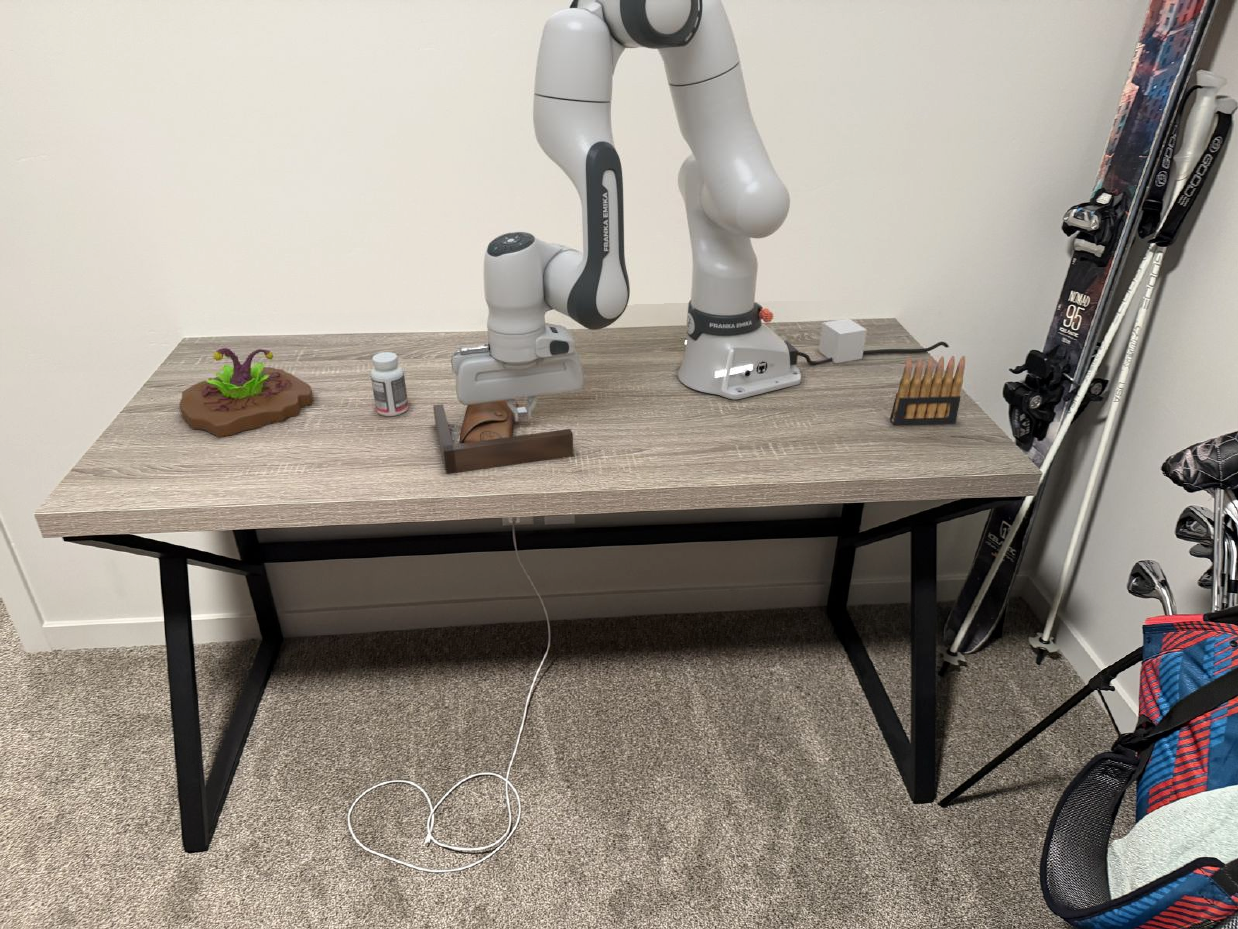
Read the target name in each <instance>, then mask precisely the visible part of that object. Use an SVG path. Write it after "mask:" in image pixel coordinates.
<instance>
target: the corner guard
mask: <svg viewBox="0 0 1238 929" xmlns="http://www.w3.org/2000/svg"><path fill="white" fill-rule="evenodd" d="M432 407H433V416H434V417H433V418H434V425H435V426H434V427H435V430H436V434H437V439H438V443H439V449H440V452H441V457H442V462H443V465H444V470H445V474H446V475H449V474H457V473H462V472H470V471H476V470H483V469H491V468H499V467H505V466H513V465H520V464H526V463H527V464H528V463H534V462H540V461H546V460H555V459H562V458H569V457H573V456H574V433H573V431H572V429H571V428H566V429H560V430H559V429H558V430H551V431H544V432H537V433H529V434H521V435H513V436H511V437H506V438H499V439H491V440H484V441H476V442H469V443H461V444H459V443H455V444H454V442H453V439H452V438H453V437H452V435H451V430H450V426H449V422H448V418H447V414H446V411H445V407H444V404H435V405H434V404H433V406H432Z"/></svg>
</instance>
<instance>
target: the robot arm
mask: <svg viewBox="0 0 1238 929" xmlns="http://www.w3.org/2000/svg"><path fill="white" fill-rule="evenodd" d="M727 14H728V13H727V11H726V9H725V7H724V5H723V2H722V0H572V2H571V3H570V5H569V7H568V8H564V9H562V10H561V9H560V10H559V11H556V12H554V13H553V14H551V15H550V16H549V17H548V18H547V20H546V21H545V23H544V26H543V30H542V34H541V37H540V43H539V48H538V53H537V58H536V66H535V67H536V68H535V72H534V73H535V75H534V85H533V102H532V122H533V129H534V130H533V131H534V135H535V139H536V142H537V144H538V145H539V147H540V149H541V150H542V152H543V153H544V154H545V155H546V156H547V158H548V159H550V160H551V161H552V162H553V163H554V164H555V165H556V166H557V167H559V169H561V170H562V172H563V173H564V174H565V175H566V176H567V178H568V179H569V180H570V182H571V183H572V184H573V186H574V187H575V188H574V189H576V192H577V194H578V197H579V199H580V205H581V222H582V223H581V225H582V252H581V251H579V250H577V249H575V248H573V247H570V246H566V245H564V244H560V243H551V242H547V241H544V240H541V239H539V238H537V237H535V235H533V234H532V233H529V232H526V231H524V232H523V231H515V232H514V231H513V232H507V233H503V234H500V235H498V236H497V237H495V238H494V239H493V240H491V241H490V242H489V243H488V244H487V247H486V249H485V253H484V257H483V258H484V259H483V289H484V290H483V291H484V292H483V293H484V299H485V300H484V301H485V302H486V305H487V309H488V316H487V319H486V326H487V327H486V328H487V340H488V343H485V344H478V345H474V346H473V345H472V346H462V347H460V348H459V350H456V351H455V352H453V353H452V355H451V358H450V363H451V364H450V365H451V370H452V372H453V373H454V374H455V393H456V397H457V400H458V402H459V403H460V404H461V405H463V406H467V405H473V404H480V403H488V402H495V401H503V400H506V403H507V405H508V407H509V408H510V409H511V410H512V412H513V417H514V422H515V423H517V422H524V421H531V420H532V411H533V410H534V408H535V406H536V405H537V402H538V397H540V396H541V397H542V396H548V395H555V394H563V393H570V392H578V391H580V390H581V388H582V387H583V386H584V371H583V366H582V360H581V358H580V356H579V354H578V352H577V351H576V348H577V345H576V344H577V343H576V341H575V338H574V336H573V334H572V333H571V332H570V331H569V329H568V328H567V327H566V326H563V325H560V324H556V323H555V324H554V323H550V322H546V318H545V317H546V316H545V315H546V314H547V313H548V312H549V311H553V310H554V311H556V312H558V313H561V314H562V315H564V316H566V317H568V318H571V319H572V320H573V321H574V322H576V323H578V324H579V325H581V326H582V327H584V328H586V329H587V330H589V331H591V330H592V331H597V330H603V329H604V328H606V327H609V326H610V325H613V324H614V323H615V322H617V320H619V319H620V318H621V316H622V315H623V314H624V312H625V311H626V309H627V307H628V304H629V300H630V296H631V295H630V294H631V289H630V288H631V286H630V280H629V275H628V269H627V264H626V257H625V255H626V254H625V210H624V207H625V206H624V204H625V203H624V180H623V179H624V178H623V168H622V163H621V158H620V155H619V154H618V151H617V149H616V146H615V141H614V136H613V127H612V100H613V78H614V76H615V71H616V67H617V63H618V61H619V59H620V57H621V55H622V54H623V52H624V51H625V50H626V49H637V48H646V49H653V50H656V51H658V53H659V55H660V58H661V59H662V61H663V66H664V67H663V68H664V71H665V76H666V81H667V84H668V85H667V86H668V88H669V93H670V96H671V99H672V103H673V108H674V112H675V116H676V120H677V124H678V128H679V131H680V134H681V136H682V138H683V140H684V141H685V142H686V144H687V145H688V147H689V149H690V151H691V152H692V153H690V154H689V155H688V156H687V157H686V158H685V159H684V161H683V162H682V163H681V165H680V168H679V171H678V175H677V185H678V191H679V192H680V195H681V197H682V201H683V203H684V208H685V212H686V220H687V226H688V233H689V240H690V248H691V258H692V260H691V261H692V267H691V268H692V269H691V270H692V271H691V290H690V292H691V293H690V300H689V301H688V303H687V304H688V305H687V315H686V334H687V338H686V340H685V341H684V345H685V348H684V353H683V356H682V360H681V363H680V366H679V369H678V372H677V378H678V380H679V381H680V383H682V384H683V385H684V386H686V387H688V388H690V389H692V390H694V391H697V392H698V391H699V392H701V393H705V394H711V395H717V396H721V397H723V398H727V399H729V400H735V401H736V400H737V401H738V400H741V399H745V398H750V397H754V396H757V395H761V394H766V393H769V392H773V391H777V390H782V389H786V388H789V387H794V386H797V385H800V384H802V374H801V371H800V369H799V368H798V366H797V364H798V363H797V362H798V357H803V358H804V359H805V360H806V363H808V364H809V365H811V366H812V365H813V366H818V365H819V366H820V365H822V364H828V363H831V362H833V361H832V360H833V359H832V358H826V359H824V360H820V361H814V360H811V358H810V356H809V354H807V353H805V352H801V351H799V349H797V348H795V346H793V345H792V344H791V343H790V342H789V341H788V340H784V339H783V338H782V337H780V336H779V335H778V334H777V333H776V332H775V331H773V330H772V329H771V328H770V327H769V326H767V325H766V324H764V323H772V320H774V313H773V312H772V311H771V310H770V309H769V308H765V307H763V306H762V305H761V304H759V303H757V302H756V301H755V300H756V299H755V298H756V289H757V281H758V280H757V279H758V268H759V262H758V258H757V255H756V252H755V250H754V247H753V244H752V240H751V239H764V238H766V237H769V236H771V235H773V234H774V233H776V232H777V231H778V230H780V228H781V227H782V225H784V223H785V221H786V219H787V217H788V214H789V211H790V206H791V197H790V193H789V191H788V190H789V189H788V188H787V186H786V185H785V183H784V182H783V181H782V180H781V178H780V176H779V174H778V173H777V171H776V169H775V168H774V165H773V163H772V160H771V158H770V157H769V156H770V155H769V154H768V151H767V149H766V146H765V144H764V141H763V139H762V137H761V134H760V131H759V129H758V126H757V124H756V123H755V122H756V121H755V119H754V116H753V113H752V110H751V107H750V106H751V105H750V103H749V98H748V93H747V88H746V83H745V79H744V73H743V69H742V64H741V60H740V55H739V50H738V47H737V42H736V39H735V35H734V31H733V29H732V25H731V22H730V19H729V17H728V15H727ZM762 321H763V322H764V323H763V322H762ZM940 346H943V347H944V348H950V346H949V344H948V343H947V342H946V341H939V342H937V343H934V344H933V345H931V346H929V347H925V348H885V349H870V350H863V356H865V355H875V354H876V355H877V354H892V353H893V354H916V353H917V354H918V353H927V352H930V351H933V350H935V349H937V348H938V347H940ZM524 398H525V399H526V398H527V402H526V403H525V405H524V406H518V408H516V406H515V405H514V404H516V403H517V399H518V400H519V399H524Z"/></svg>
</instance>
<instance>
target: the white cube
mask: <svg viewBox="0 0 1238 929" xmlns="http://www.w3.org/2000/svg"><path fill="white" fill-rule="evenodd" d="M821 324H822V325H821V330H820V331H821V332H820V338H819V343H818V344H819V346H818V352H819V353H821V354H822V355H823V356H824V357H826V358H827V359H829V358H832V359H833V360H832V361H831V362H833V363H834V364H839V363H844V362H845V363H846V362H852V361H856V360H862V359H863V356H864V355H863V351H865V345H866V338H867V332H868V329H867V328H865V327H863V325H860V324H858V322H855V321H854V320H852V319H850V318H843V319H836V320H831V321H824V322H822V323H821Z"/></svg>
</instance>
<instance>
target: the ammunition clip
mask: <svg viewBox="0 0 1238 929" xmlns="http://www.w3.org/2000/svg"><path fill="white" fill-rule="evenodd" d="M934 361H935V360H934V357H933V356H930V357H929V359H928V361H927V363H926V366H925V369H924V373H923V368H924V359H923V356H920V357H919V358H918V360H917V362H916V364H915V367H914V371H913V374H912V370H913V359H912V356H909V357H908V359H907V361H906V363H905V365H904V368H903V372H902V376H901V379H900V381H899V384H898V389H897V393H896V394H895V398H894V402H893V405H892V408H891V409H892V410H891V413H890V418H889V421H890V423H891V424H892V426H894V427H895V426H928V425H929V426H930V425H931V426H932V425H955V424H956V423H957V418H958V414H959V407H960V403H961V398H962V397H961V391H962V387H963V383H964V374H965V367H966V356H965V355H962V356H961V358H960V359H959V361H958V363H957V366H956V370H955V365H956V364H955V363H956V360H955V356H954V355H952V356H951V357H950V359H949V360H948V363H947V365H946V368H945V357H944V356H943V355H942V356H940V358H939V360H938V361H937V364H936V367H935V366H934V364H935V362H934ZM934 367H935V370H934ZM944 370H945V371H944ZM933 372H934V374H933ZM954 372H955V373H954ZM922 375H923V376H922Z"/></svg>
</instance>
